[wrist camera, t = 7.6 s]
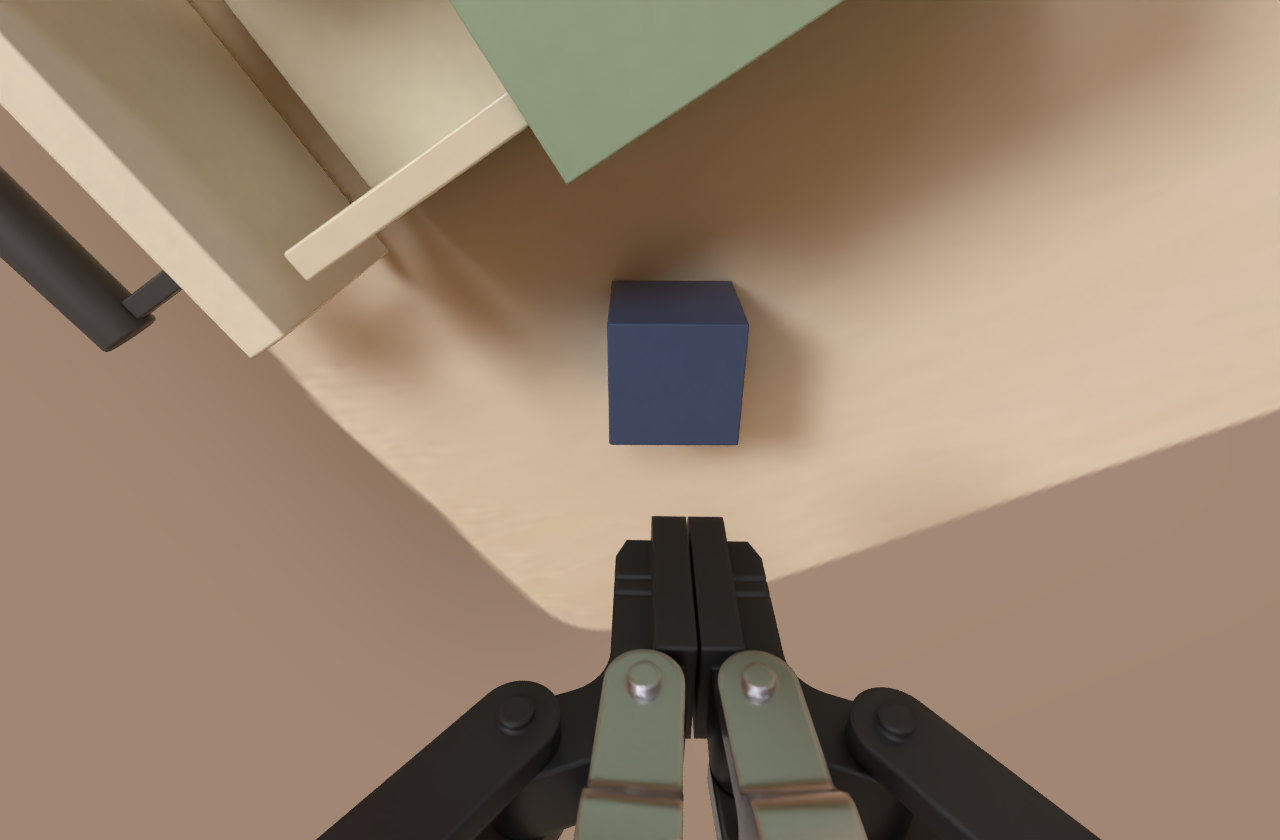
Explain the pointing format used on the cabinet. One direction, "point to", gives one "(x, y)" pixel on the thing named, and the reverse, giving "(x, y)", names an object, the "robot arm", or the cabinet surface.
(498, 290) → the cabinet surface
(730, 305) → the block
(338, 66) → the drawer
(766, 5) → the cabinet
